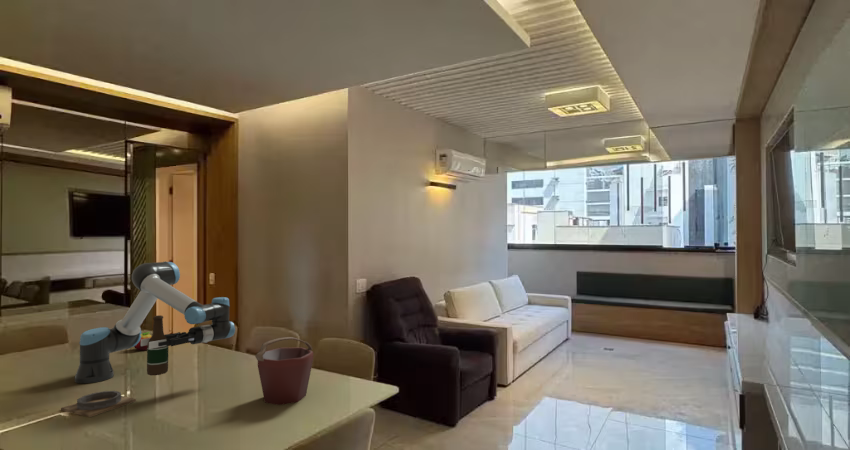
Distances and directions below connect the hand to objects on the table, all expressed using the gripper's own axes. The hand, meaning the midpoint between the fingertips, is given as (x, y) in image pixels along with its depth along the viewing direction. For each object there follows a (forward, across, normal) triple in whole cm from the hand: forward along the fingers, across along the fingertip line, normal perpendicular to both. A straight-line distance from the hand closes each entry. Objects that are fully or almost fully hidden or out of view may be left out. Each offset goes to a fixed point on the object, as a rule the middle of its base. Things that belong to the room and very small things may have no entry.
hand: (145, 344), depth 189 cm
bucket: (-38, -42, -24) cm, 61 cm away
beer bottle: (-5, 0, -13) cm, 14 cm away
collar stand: (+13, +10, -24) cm, 29 cm away
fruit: (-37, +96, -24) cm, 106 cm away
